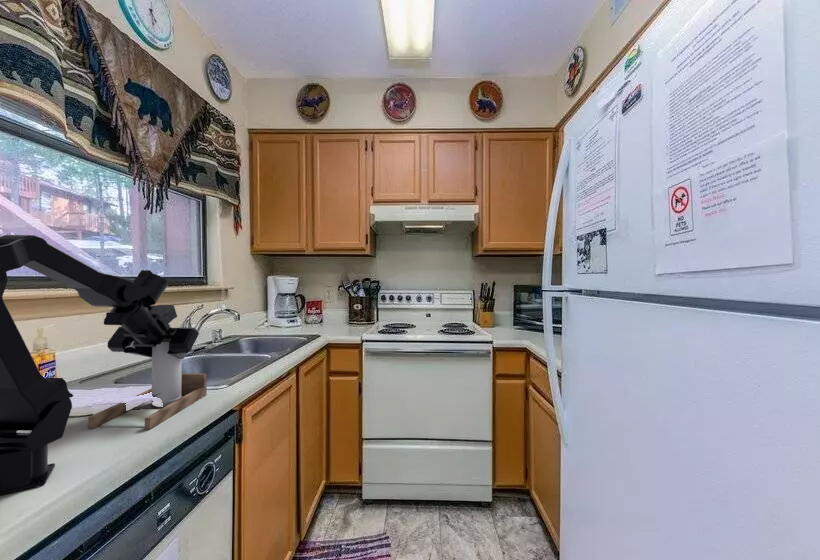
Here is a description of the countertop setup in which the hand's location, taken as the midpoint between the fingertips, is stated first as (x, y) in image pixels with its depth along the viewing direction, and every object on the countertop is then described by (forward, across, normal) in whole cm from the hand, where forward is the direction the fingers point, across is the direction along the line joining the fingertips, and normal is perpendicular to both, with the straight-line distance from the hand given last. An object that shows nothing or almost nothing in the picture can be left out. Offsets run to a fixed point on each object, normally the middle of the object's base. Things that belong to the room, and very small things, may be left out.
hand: (170, 357), depth 89 cm
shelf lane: (+4, 0, +12) cm, 13 cm away
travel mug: (+7, 0, +9) cm, 12 cm away
